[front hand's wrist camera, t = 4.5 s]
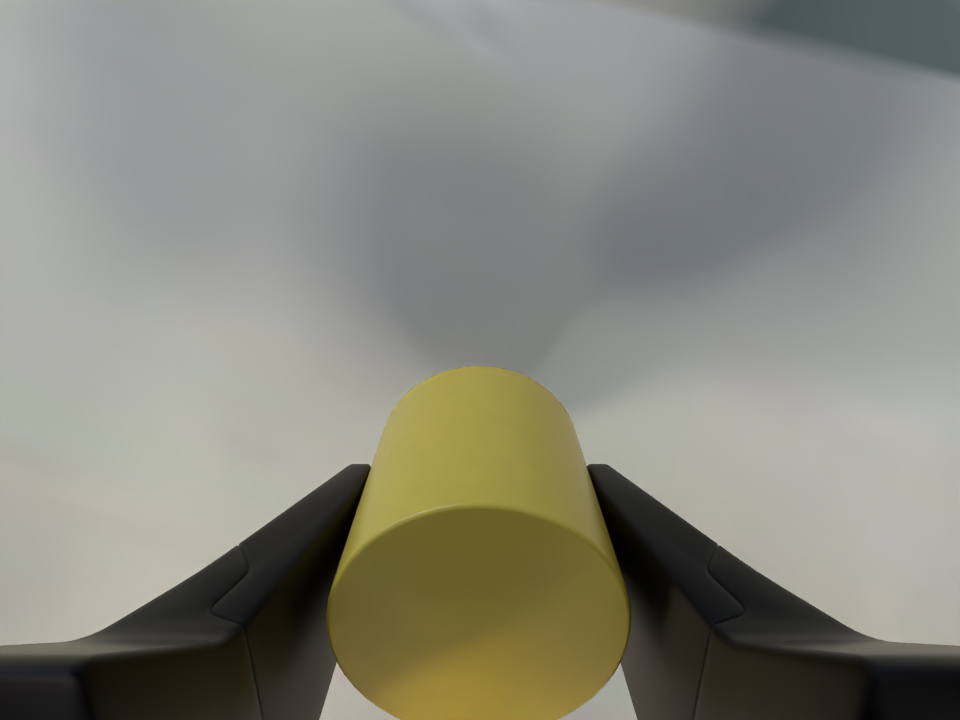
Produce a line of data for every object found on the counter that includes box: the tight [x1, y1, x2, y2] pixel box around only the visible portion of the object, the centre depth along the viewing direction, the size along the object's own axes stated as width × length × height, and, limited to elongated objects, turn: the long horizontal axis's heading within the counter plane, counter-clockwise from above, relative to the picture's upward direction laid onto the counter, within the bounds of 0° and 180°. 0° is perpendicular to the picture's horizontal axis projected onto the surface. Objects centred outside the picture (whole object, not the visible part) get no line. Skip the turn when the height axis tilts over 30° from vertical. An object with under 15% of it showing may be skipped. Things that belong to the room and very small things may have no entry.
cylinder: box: [326, 366, 631, 720], centre depth 10 cm, size 4×4×5 cm
